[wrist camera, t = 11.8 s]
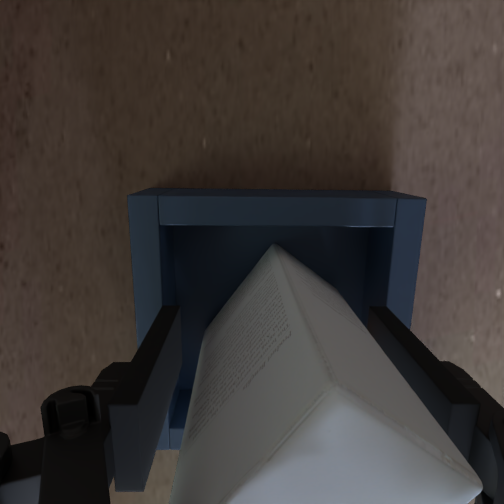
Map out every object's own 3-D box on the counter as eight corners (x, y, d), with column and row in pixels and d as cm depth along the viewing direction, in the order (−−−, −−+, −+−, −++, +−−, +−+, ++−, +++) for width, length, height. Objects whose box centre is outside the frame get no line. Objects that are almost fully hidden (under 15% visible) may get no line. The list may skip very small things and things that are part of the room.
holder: (160, 401, 21) (144, 450, 17) (149, 187, 18) (126, 194, 15) (370, 401, 21) (395, 449, 18) (392, 190, 18) (427, 198, 15)
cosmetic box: (268, 372, 20) (302, 671, 8) (202, 329, 19) (140, 589, 8) (341, 286, 19) (497, 493, 7) (274, 237, 18) (329, 377, 7)
